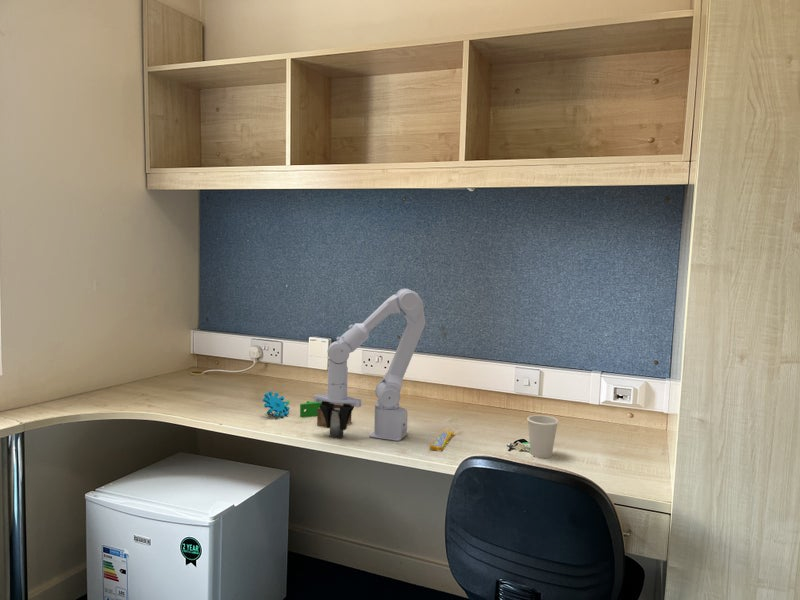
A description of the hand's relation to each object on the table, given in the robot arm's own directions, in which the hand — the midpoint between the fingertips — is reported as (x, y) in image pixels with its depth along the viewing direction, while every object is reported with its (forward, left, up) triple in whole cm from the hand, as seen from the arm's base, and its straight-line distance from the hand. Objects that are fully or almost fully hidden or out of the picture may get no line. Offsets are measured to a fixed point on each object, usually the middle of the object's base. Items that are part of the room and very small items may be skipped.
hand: (336, 428), depth 177 cm
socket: (+6, -11, -2) cm, 13 cm away
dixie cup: (-58, -9, -3) cm, 59 cm away
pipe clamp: (+16, -18, -3) cm, 25 cm away
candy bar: (-30, -8, -3) cm, 31 cm away
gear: (+27, -12, -3) cm, 30 cm away
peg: (0, 0, -2) cm, 2 cm away
